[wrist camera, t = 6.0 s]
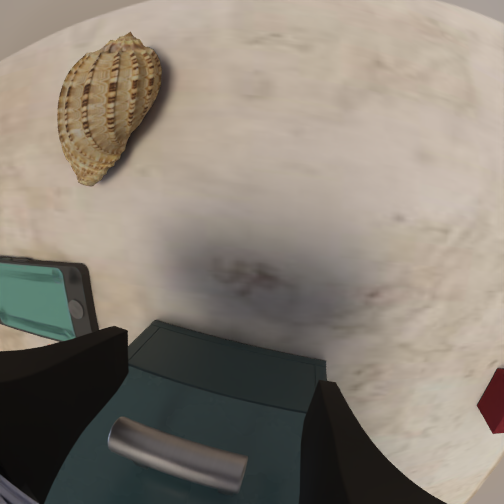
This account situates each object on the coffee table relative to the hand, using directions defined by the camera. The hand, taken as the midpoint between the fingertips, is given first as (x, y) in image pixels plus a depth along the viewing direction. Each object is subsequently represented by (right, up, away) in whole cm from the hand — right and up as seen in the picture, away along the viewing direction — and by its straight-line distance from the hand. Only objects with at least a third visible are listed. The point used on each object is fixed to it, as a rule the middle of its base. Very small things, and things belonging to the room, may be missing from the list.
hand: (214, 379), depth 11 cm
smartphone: (-19, 0, +14) cm, 23 cm away
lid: (-2, -7, -1) cm, 8 cm away
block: (+23, -7, +8) cm, 26 cm away
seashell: (-8, +14, +9) cm, 18 cm away
